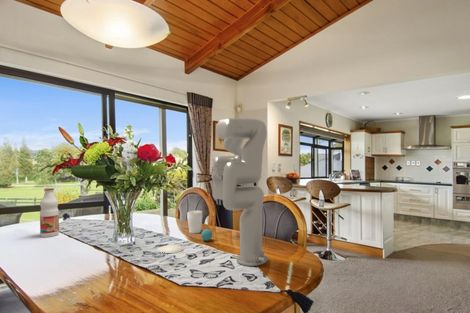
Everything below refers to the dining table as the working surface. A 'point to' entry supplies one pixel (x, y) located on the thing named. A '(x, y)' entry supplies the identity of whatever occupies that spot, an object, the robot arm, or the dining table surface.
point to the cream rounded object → (171, 249)
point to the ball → (206, 234)
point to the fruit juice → (49, 214)
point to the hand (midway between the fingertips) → (220, 211)
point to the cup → (194, 221)
